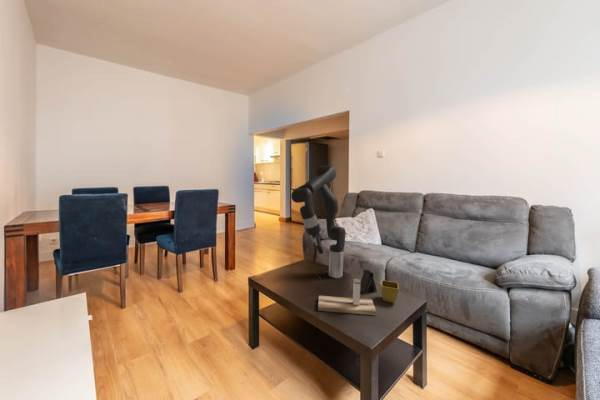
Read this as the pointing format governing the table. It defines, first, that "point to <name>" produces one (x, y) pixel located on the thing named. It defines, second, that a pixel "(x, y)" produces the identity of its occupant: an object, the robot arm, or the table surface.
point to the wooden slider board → (346, 305)
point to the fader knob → (356, 291)
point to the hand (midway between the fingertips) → (321, 252)
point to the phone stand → (367, 283)
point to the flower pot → (389, 291)
